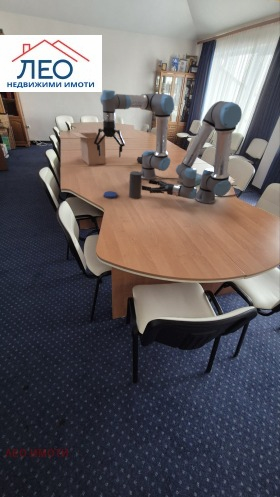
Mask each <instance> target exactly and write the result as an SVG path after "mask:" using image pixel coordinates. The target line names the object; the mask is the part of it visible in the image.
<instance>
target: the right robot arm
mask: <svg viewBox="0 0 280 497" xmlns="http://www.w3.org/2000/svg"><path fill="white" fill-rule="evenodd" d="M242 116H243V112H242V108H241V106H240V105H239V104H238V103H236V102H234V101H225V100H224V101H223V100H220V101H216V102H215V103H213V104H212V105H211V106H210V108H209V109H208V110H207V111H206V113H205V115H204V117H203V118H202V121H201V126H200V128H199V129H198V131H197V133H196V135H195V137H194V138H193V140H192V142H191V145H190V147H189V148H188V150H187V152H186V154H185V156H184V158H183V160H182V162H181V163H179V164H178V165H177V166H176V168H175V173H176V175H177V176H180V177H181V178H182V179H183V180H184V181H183V184H182V185H181V184H174V183H170V182H166V181H164V180H161V179H159V180H156V179H153V180H148V184H151V185H154V186H156V187H151V186H147V185H141V191H146V192H149V193H150V194H165V193H166V194H167V195H170V196H174V197H175V196H176V197H179V198H183V199H184V198H185V199H189V200H195V201H197V202H198V203H202V204H207V205H208V204H214V203H215V201H216V198H225V197H234V196H239V195H242V194H246V193H252V194H253V193H254V192H253V190H248V191H242V192H238V193H236V194H235V193H234V194H229V195H227V194H228V193H229V192H230V191H231V188H232V183H231V181H230V173H229V172H228V171H229V170H228V169H229V162H230V161H229V160H230V154H231V145H232V138H233V133H234V131H236V129H237V126H238V124H239V123H240V122H241V119H242ZM213 131H214V132H216V141H215V152H214V153H215V154H214V163H213V168H206V169H203V171H202V174H201V175H202V179H201V183H200V184H199V188H196V187H195V186H194V184H195V179H196V173H198V170H197V169H196V168H194V167H193V166H194V164H195V162H196V161H197V158H198V157H199V155H200V153H201V152H202V150H203V149H204V146H205V145H206V142H207V141H208V139H209V137H210V136H211V134H212V132H213ZM157 186H158V187H157Z"/></svg>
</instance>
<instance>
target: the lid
mask: <svg viewBox="0 0 280 497" xmlns="http://www.w3.org/2000/svg"><path fill="white" fill-rule="evenodd" d="M103 197H104V198H106V199H116V198H117V197H118V193H117V191H112V190H108V191H105V192H103Z"/></svg>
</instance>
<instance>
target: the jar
mask: <svg viewBox="0 0 280 497" xmlns="http://www.w3.org/2000/svg"><path fill="white" fill-rule="evenodd" d="M142 180H143V179H142V173H141V171H138V170H137V171H136V170H134V171H130V172H129V185H128V188H129V189H128V197H129V198H131V199H134V200H135V199H140V198H141V197H142V182H143V181H142Z"/></svg>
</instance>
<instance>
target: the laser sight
mask: <svg viewBox="0 0 280 497" xmlns="http://www.w3.org/2000/svg"><path fill="white" fill-rule="evenodd" d="M142 156H143V153H141V156H137V158H136V161H137V162H136V163H139V164H142Z"/></svg>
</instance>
